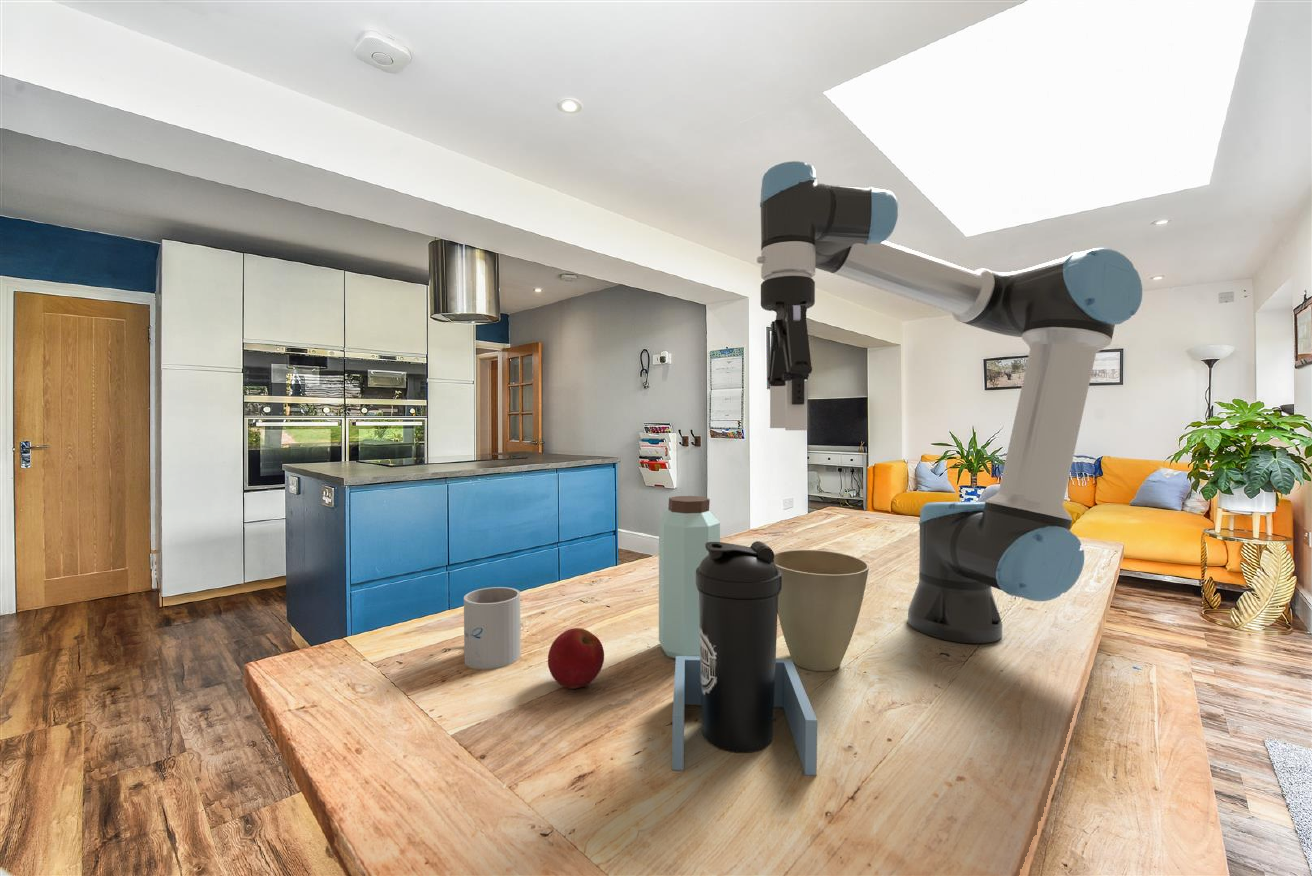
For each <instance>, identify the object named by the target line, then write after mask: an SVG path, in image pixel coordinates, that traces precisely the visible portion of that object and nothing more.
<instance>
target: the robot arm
mask: <svg viewBox="0 0 1312 876" xmlns="http://www.w3.org/2000/svg"><path fill="white" fill-rule="evenodd" d="M759 207H760V237H761V238H760V239H761V241H760V243H761V244H760V252H761V253H760V255H759V256H757V257H756V263H757V264H760V265H761V266H760V277H761V279H762V280H763V281H762V283H761V284H760V306H761V307H760V308H762V309H763V310H765V311H769V312H775V314H776V315H775V320H773V321H771V323H770V327H771V328H770V329H771V332H770V333H771V334H770V352H769V363H768V376H767V382H768V384H769V388H770V389H769V391H770V392H769V428H770V429H785V431H808V379H809V376H810V374H812V371H813V366H812V359H811V351H810V343H809V342H810V341H809V331H808V323H807V312H808V309H810V308H812V307H813V306H815V302H816V301H815V300H816V297H815V295H816V291H815V290H816V281H815V280H814V279H813V278H814V276H815V275H816V270H821V271H824V272H828V273H831V274H833V275H838V276H839V277H842V278H845V279H849V280H852V281H855V282H858V283H861V284H864V285H867V286H870V287H873V288H876V289H878V290H883V291H885V292H888V293H891V294H895V295H897V296H900V297H903V298H906V299H909V300H912V301H915V302H918V303H921V304H924V305H927V306H930V307H934V308H937V309H939V310H942V311H945V312H948V313H951V315H952V317H953V319H954V320H956V321H957V322H959V323H962V324H965V325H968V326H971V327H975V328H977V329H982V330H984V331H988V332H992V333H996V334H999V335H1003V336H1010V337H1016V338H1021V340H1022V341H1023V342H1025V343H1026V345H1027V346H1028V347H1029V352H1028V356H1027V362H1026V365H1025V371H1024V374H1023V380H1022V385H1021V387H1020V393H1019V398H1018V402H1017V407H1016V412H1015V416H1014V422H1013V425H1012V430H1011V433H1010V434H1011V435H1010V438H1009V442H1008V443H1009V444H1008V447H1007V448H1008V449H1007V451H1006V457H1005V462H1004V467H1003V470H1002V475H1001V480H1000V482H999V483H1000V484H999V489H998V491H997V493H996V494H995V495H991V497H989V498H987V499H985V501H935V502H927V503H925V504H924V505H923V506H922V507H921V508H920V514H919V515H920V516H919V521H918V526H919V550H918V551H919V555H918V556H919V558H918V561H919V562H918V563H919V565H918V566H919V567H918V570H919V571H918V583H917V586H916V588H915V591H914V594H913V595H912V598H911V601H910V603H909V607H908V610H907V622H908V624H909V626H910V627H911V628H913V629H914V630H916V631H918V632H920V633H921V634H925V635H926V636H930V637H933V638H936V639H940V640H945V641H948V642H949V641H950V642H956V643H962V644H963V643H964V644H988V643H994V642H998V641H999V640H1000V639H1001V638H1002V637H1003V622H1002V619H1001V615H1000V612H999V609H998V606H997V604H996V601H995V597H994V595H993V591H992V588H994V589H997V590H999V591H1000V590H1001V591H1002V592H1004V593H1006V594H1007V595H1009V596H1011V597H1017V598H1022V599H1024V600H1025V599H1026V600H1028V601H1032V602H1047V601H1052V600H1055V599H1057V598H1059V597H1060V596H1061V595H1062V594H1066V593H1067V592H1068V591H1070V589H1072V588H1073V587H1074V586H1075V585H1076V582H1077V581H1078V580H1079V578H1080V575H1081V574H1082V572H1083V569H1084V566H1085V565H1084V564H1085V550H1084V548H1082V547H1081V546H1082V542H1081V540H1080V539H1079V538H1078V536H1077V535H1076V534H1074V533H1073V532H1072V531H1071V526H1072V522H1073V518H1072V515H1071V514H1070V513H1069V512H1068V510H1067V509H1066V508H1065V506H1064V502H1065V496H1066V492H1067V487H1068V485H1069V478H1070V474H1071V468H1072V465H1073V459H1074V455H1075V451H1076V446H1077V443H1078V442H1077V441H1078V438H1079V433H1080V427H1081V424H1082V419H1083V415H1084V410H1085V406H1086V405H1085V404H1086V401H1087V396H1088V391H1089V386H1090V383H1091V378H1092V373H1093V368H1094V364H1095V360H1096V354H1097V353H1098V352H1100V351H1102V350H1104V349H1105V348H1106V347H1108V346H1110V345H1111V343H1112V341H1113V336H1114V332H1115V327H1116V325H1121V324H1123V323H1125V322H1126V321H1129V320H1130V319H1131V318H1132V316H1134V315H1136V314H1137V312H1138V311H1139V308H1140V306H1141V305H1142V304H1141V303H1142V300H1143V284H1142V280H1141V278H1140V277H1141V276H1140V275H1139V272H1138V270H1136V268H1135V267H1134V264H1133V263H1132V261H1131V260H1130V259H1129V258H1128V257H1127V256H1125V254H1122V253H1121V252H1119V251H1118V250H1116V249H1115V250H1114V249H1112V248H1107V247H1096V248H1092V249H1088V250H1085V251H1076V252H1075V251H1074V252H1073V253H1071V254H1069V255H1068V256H1063V257H1061V258H1059V259H1058V258H1057V259H1054V260H1051V261H1047V262H1045V263H1042V264H1041V263H1040V264H1038V265H1035V266H1032V267H1031V266H1030V267H1028V268H1024V269H1020V270H1017V271H1011V272H1010V271H1009V272H1008V271H1007V272H1000V271H993V270H990V269H988V268H985V267H984V268H978V269H975V270H970V269H967V268H965V267H961V266H958V265H956V264H953V263H950V262H947V261H945V260H942V259H939V258H936V257H933V256H929V255H927V254H924V253H921V252H919V251H915V250H912V249H910V248H907V247H904V246H901V245H897V244H894V243H891V242H889V241H887V240H888V239H889V238H890V236H891V235H892V233H893V232H894V230H895V228H896V225H897V222H898V217H899V211H898V210H899V209H898V208H899V203H898V200H897V197H896V196H895V194H894V193H893V192H892V191H891V190H886V189H881V188H876V187H872V186H868V187H867V186H866V187H863V186H848V185H834V184H833V185H832V184H825V183H820V182H818V177H817V174H816V169H815V168H814V166H813V165H811V164H808V163H806V162H804V161H799V160H797V161H795V160H793V161H786V162H781V163H778V164H775V165H774V166H771V167H770V168H768V170H767V171H766V172H765V173H764V174H763V176H762V179H761V189H760V202H759Z"/></svg>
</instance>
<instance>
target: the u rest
mask: <svg viewBox="0 0 1312 876" xmlns="http://www.w3.org/2000/svg"><path fill="white" fill-rule="evenodd" d="M700 665H701V662H700V656H676V659H675V666H674V667H675V669H674V682H673V683H674V685H673V701H672V723H671V724H672V731H671V732H672V740H671V741H672V752H671V753H672V755H671V756H672V760H671V761H672V765H671V767H672V769H671V770H672V771H684V761H685V760H684V759H685V708H686V707H685V706H686V705H696V706H697V705H698V706H699V705H700V706H702V698H701V675H700ZM774 708H783V710H784V711H783V712H784V713H785V716H786V717H785V718H786V720H787V723H788V726H789V729H790V732H791V735H792V738H793V741H794V745H795V747H796V750H797V754H798V757H799V760H800V763H801V767H802V769H803V772H804V773H803V774H804V776H817V772H818V771H817V769H818V768H817V767H818V765H817V763H818V719H817V716H816V714H815V711H814V709H813V707H812V705H811V702H810V699H809V697H808V695H807V692H806V690H805V687H804V686H803V683H802V680H801V678H800V676H799V673H798V672H797V668H796V667H795V663H794V662H793V661H792V658H778V657H776V666H775V692H774Z"/></svg>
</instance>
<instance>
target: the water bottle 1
mask: <svg viewBox="0 0 1312 876" xmlns="http://www.w3.org/2000/svg"><path fill="white" fill-rule="evenodd" d="M710 501H711V500H710V498H708V497H707V496H697V495H677V496H672V497H668V510H666V512H665V513H663V515H662V516H661V517H660V518H659V520H658V641H659V644H660V646H661V648H662V650H663V651H664V653H665V655H666V656H667V657H669V658H672V659H675V660H676V656H700V636H699V633H700V632H699V624H700V619H699V591H698V590H697V586H696V569H697V568H698V567H699V566H700V563H701V562H702V560H703V559H704V558H705V557H706V556H708V554H709V552H708V551H707V550H706V548H705V544H706V543H707V542H721V522H720V521H719V520H718V519H717V518H716V517H715V515H714V514H713V513H712V512H711V511H710V503H711V502H710Z"/></svg>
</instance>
